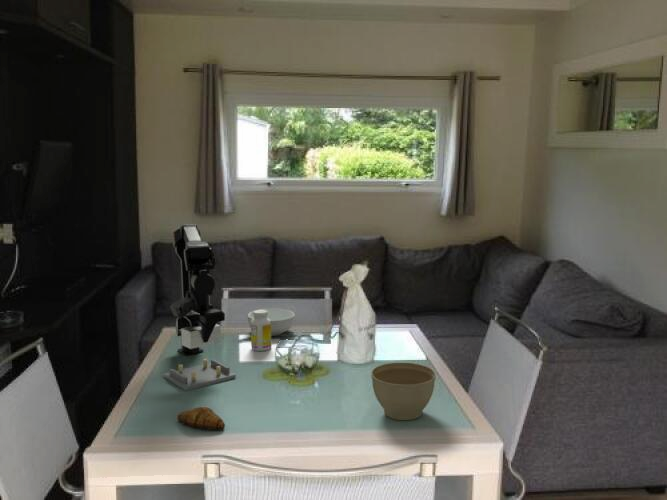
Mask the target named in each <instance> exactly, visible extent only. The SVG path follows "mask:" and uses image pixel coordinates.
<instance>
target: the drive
mask: <svg viewBox="0 0 667 500" xmlns="http://www.w3.org/2000/svg"><path fill="white" fill-rule="evenodd" d="M181 336H182V345H183V346H185V347H187V348H190V349H193V348H197V347H199V348H201V347H205V346H210V345H213V344H214V345H215V344H218V343H221V342H222V340H221V339H222V338H221V325H220V324H217V323H216V325H215V327H214V329H213V331H212V333H211V335H210V338H209V340H208V342H204V341H203V336H202V329H201V325H195V326H191V327H186V328H181ZM181 336H180V337H181Z"/></svg>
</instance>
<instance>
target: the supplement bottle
mask: <svg viewBox="0 0 667 500" xmlns="http://www.w3.org/2000/svg"><path fill="white" fill-rule="evenodd" d="M253 311H254V312H253V315H254V318H253V319H252V320H251V327H250V339H251V341H250V342H251V349H252V350H253V351H256V352H257V351H258V352H263V351H264V352H266V351H269V350H271V348H272V336H271V321H270V319H269V318H267V315H268V311H266V310H260V309H256V311H255V310H253Z"/></svg>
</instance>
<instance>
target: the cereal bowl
mask: <svg viewBox="0 0 667 500" xmlns="http://www.w3.org/2000/svg"><path fill="white" fill-rule="evenodd" d="M256 310H257V309H256ZM256 310H253V311H250V312H249V313H248V314H247V322H248V325H249V327H250V328H251V320H252V319H253V318H254V315H253V312H254V311H256ZM259 310H266V311H268V315H267V318H269V319H270V321H271V337H273V336H274V337H275V336H278V335H281V334H282V333H284V332H287V331H289V330H290V329H291V328H292V327H293V326H294V322H295V316H296V314H295V313H294V312H293V311H291V310H290V309H289V310H288V309H283V308H262V309H259Z"/></svg>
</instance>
